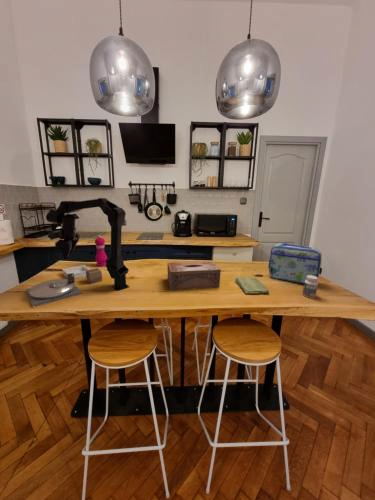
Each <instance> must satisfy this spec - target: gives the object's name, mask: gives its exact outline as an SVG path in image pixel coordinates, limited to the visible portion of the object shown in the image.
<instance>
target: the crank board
mask: <svg viewBox="0 0 375 500" xmlns="http://www.w3.org/2000/svg"><path fill="white" fill-rule="evenodd" d="M29 290H30V288H25V293H26V295H27V297H28V299H29V301H30V303H31V306H32V307H33V306H36V307H38V306H37V305H39V306H42V305H41V304H43V305H46V304H49V303H53V302H56V301H59V300H64V299H68V298H70V297H75V296H78V295H83V294H82V293H83V291H82V290H81V289H80V288H79V287H78V285H76V284H75V288H74V289H73V290H72V291H71V292H69V293H67V294H65V295H63V296H59V297H56V298H50V299H35V298H32V297H31V296H30V293H29ZM45 303H46V304H45Z"/></svg>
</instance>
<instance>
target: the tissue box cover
mask: <svg viewBox="0 0 375 500" xmlns="http://www.w3.org/2000/svg"><path fill="white" fill-rule="evenodd" d="M221 271H222V270H221V268H220V267H219V266H218V265H217V264H215V262H214V261H213V260H204V261H203V260H201V261H200V260H198V261H197V260H196V261H177V262H176V261H175V262H171V261H170V262H167V282H168V285H169V289H170V291H177V290H179V289H180V290H191V288H196V289H207V288H208V287H211V288H220V285H221Z"/></svg>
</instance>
